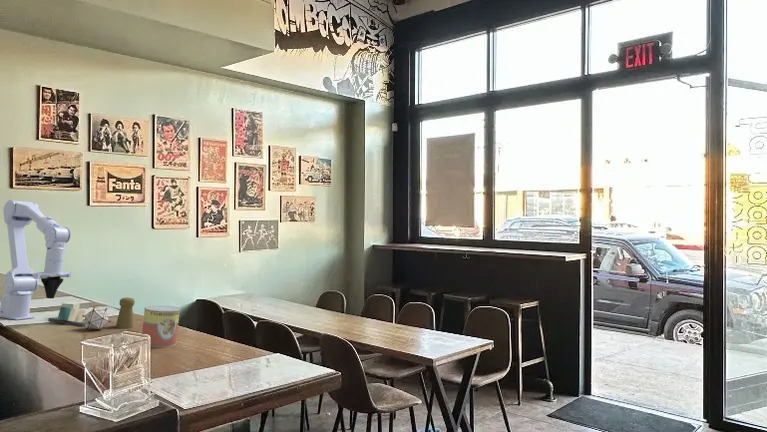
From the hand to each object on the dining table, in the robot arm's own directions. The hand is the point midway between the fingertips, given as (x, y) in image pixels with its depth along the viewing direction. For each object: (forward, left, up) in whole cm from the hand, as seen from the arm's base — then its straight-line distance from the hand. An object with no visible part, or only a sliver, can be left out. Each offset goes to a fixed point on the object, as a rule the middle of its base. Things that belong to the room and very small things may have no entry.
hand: (50, 298), depth 202 cm
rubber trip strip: (+1, +7, -10) cm, 12 cm away
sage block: (-6, +15, -10) cm, 19 cm away
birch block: (+1, +6, -6) cm, 8 cm away
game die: (+16, +5, -10) cm, 20 cm away
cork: (+19, +17, -10) cm, 27 cm away
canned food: (+46, +2, -10) cm, 47 cm away
